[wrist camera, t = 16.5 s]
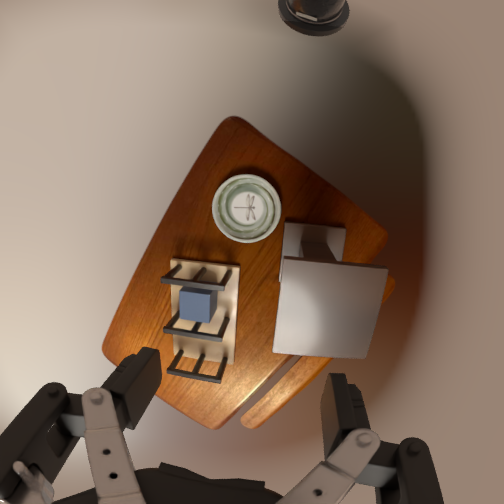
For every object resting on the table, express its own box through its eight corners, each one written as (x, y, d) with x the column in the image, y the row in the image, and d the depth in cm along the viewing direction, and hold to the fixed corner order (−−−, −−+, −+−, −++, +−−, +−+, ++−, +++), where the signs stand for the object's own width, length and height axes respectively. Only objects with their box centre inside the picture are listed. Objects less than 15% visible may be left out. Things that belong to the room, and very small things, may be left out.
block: (189, 278, 46) (178, 290, 41) (218, 282, 45) (210, 294, 41) (189, 305, 47) (179, 319, 42) (217, 309, 47) (209, 323, 42)
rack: (172, 258, 46) (153, 272, 39) (240, 265, 45) (231, 282, 38) (175, 351, 51) (161, 374, 44) (234, 361, 50) (226, 387, 43)
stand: (284, 220, 43) (283, 258, 24) (345, 227, 42) (388, 269, 23) (278, 279, 45) (271, 352, 26) (336, 284, 44) (365, 359, 25)
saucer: (209, 182, 43) (204, 182, 40) (273, 167, 41) (272, 167, 39) (223, 245, 45) (220, 248, 42) (287, 232, 43) (287, 236, 41)
